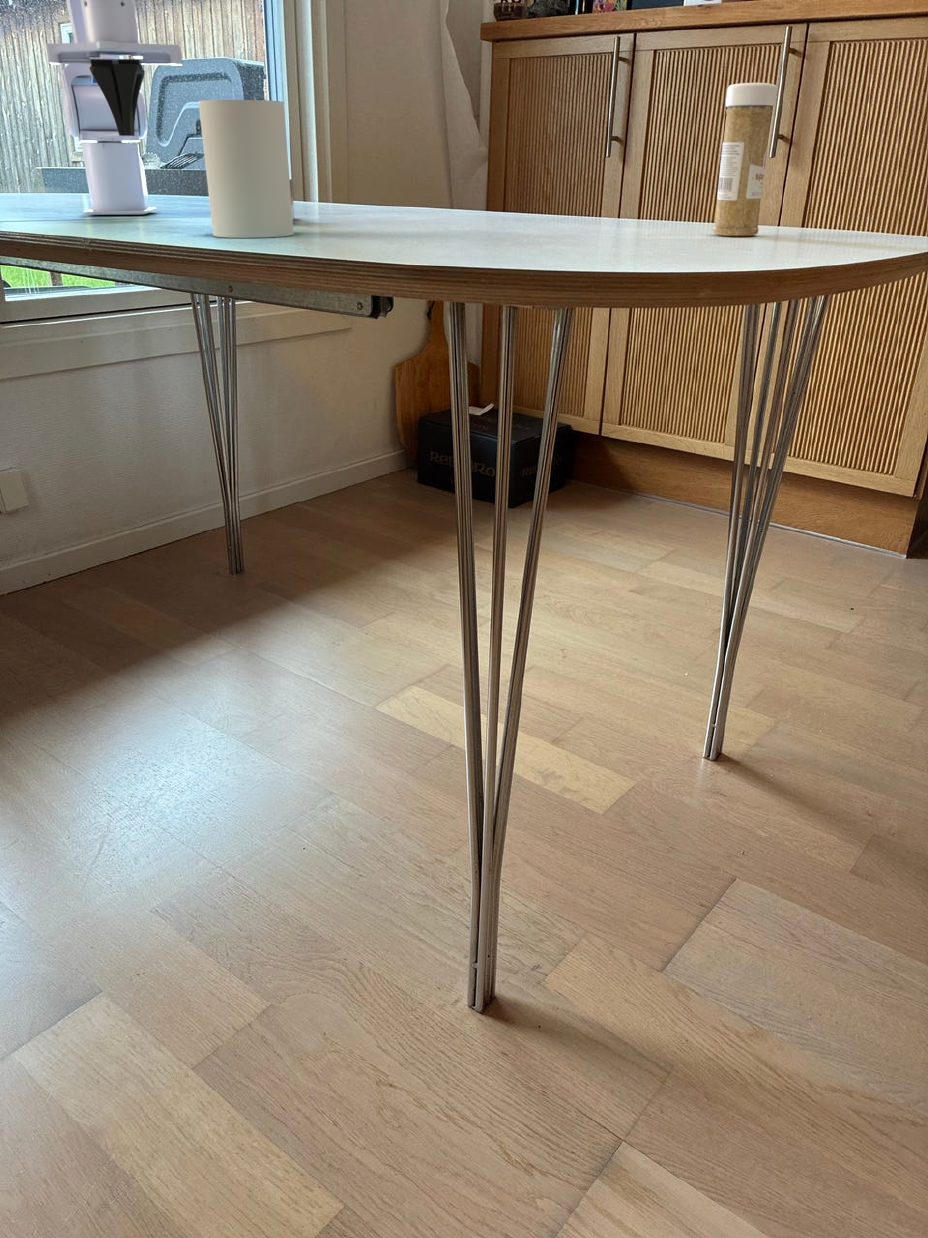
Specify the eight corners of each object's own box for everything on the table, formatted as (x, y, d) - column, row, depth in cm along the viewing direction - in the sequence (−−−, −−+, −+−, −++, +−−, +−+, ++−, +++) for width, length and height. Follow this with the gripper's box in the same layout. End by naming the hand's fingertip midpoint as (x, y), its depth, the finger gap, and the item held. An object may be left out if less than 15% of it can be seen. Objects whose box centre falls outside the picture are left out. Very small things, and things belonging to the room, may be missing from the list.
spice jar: (764, 236, 94) (784, 81, 88) (718, 236, 94) (736, 81, 88) (749, 233, 98) (767, 85, 92) (706, 233, 98) (722, 85, 92)
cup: (266, 230, 102) (255, 104, 97) (309, 234, 97) (299, 101, 91) (198, 234, 97) (183, 101, 92) (239, 239, 92) (225, 98, 86)
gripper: (28, -8, 101) (53, 134, 107) (167, -6, 102) (184, 134, 108) (48, 1, 107) (70, 135, 113) (178, 3, 108) (193, 135, 114)
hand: (126, 135), depth 111 cm, fingers closed
